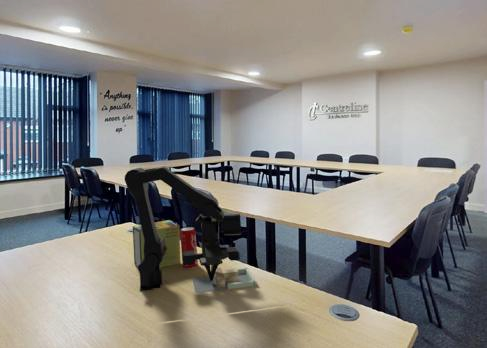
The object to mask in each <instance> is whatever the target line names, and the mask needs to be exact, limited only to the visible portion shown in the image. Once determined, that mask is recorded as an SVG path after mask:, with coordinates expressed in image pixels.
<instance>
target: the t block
mask: <svg viewBox="0 0 487 348" xmlns="http://www.w3.org/2000/svg"><path fill="white" fill-rule="evenodd" d="M237 269H238V268H233V269H232V268H231V269H222V267H221V266H220V267H219V266H218V267H217V269H216V272H215V275H214V278H215V281H216V284H217V287H225V283H229V282H238V271H237Z"/></svg>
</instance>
